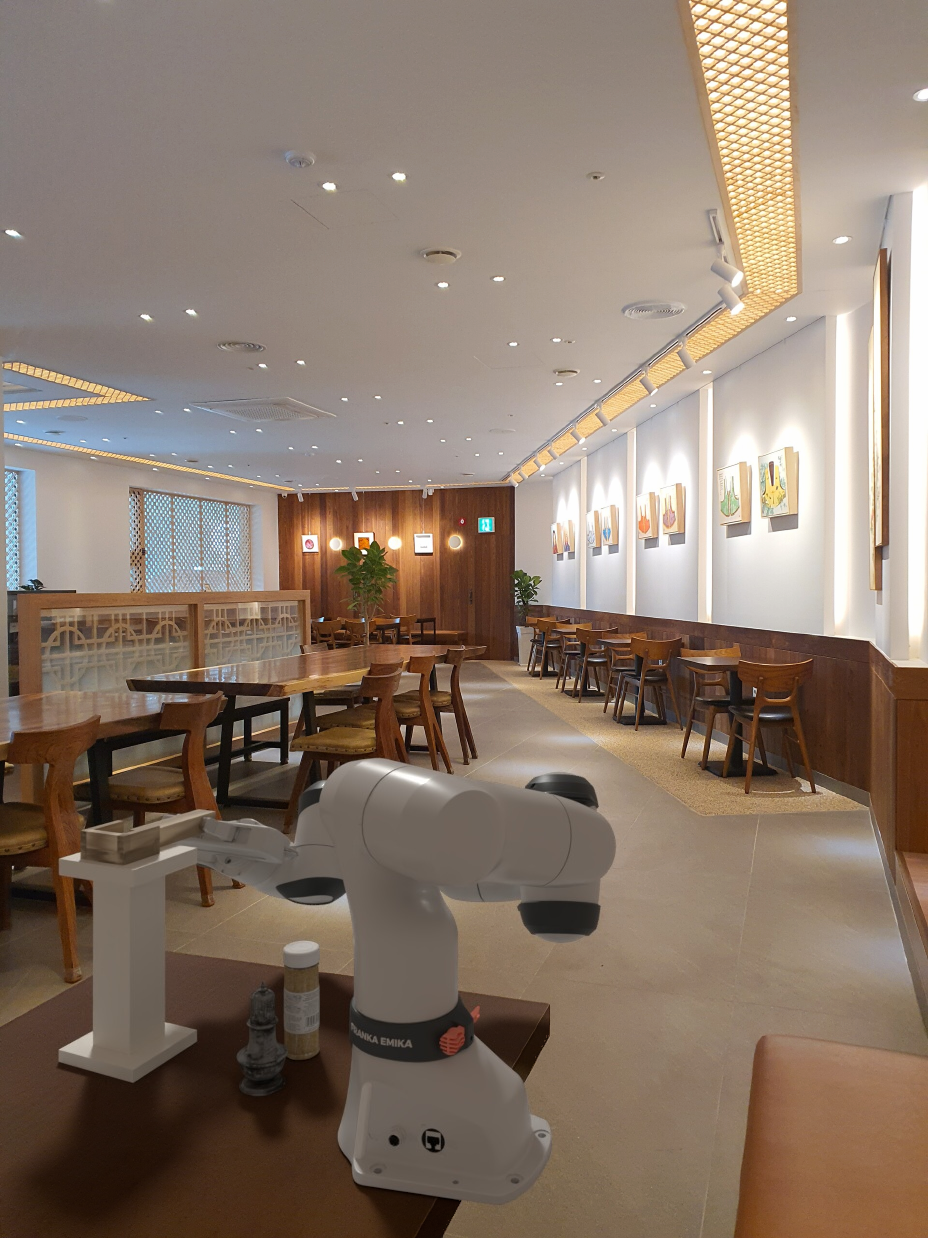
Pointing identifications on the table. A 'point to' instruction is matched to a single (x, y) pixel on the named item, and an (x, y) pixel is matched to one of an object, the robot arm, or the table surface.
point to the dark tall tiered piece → (262, 1048)
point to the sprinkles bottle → (301, 999)
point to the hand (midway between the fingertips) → (191, 821)
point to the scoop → (138, 838)
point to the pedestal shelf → (128, 966)
